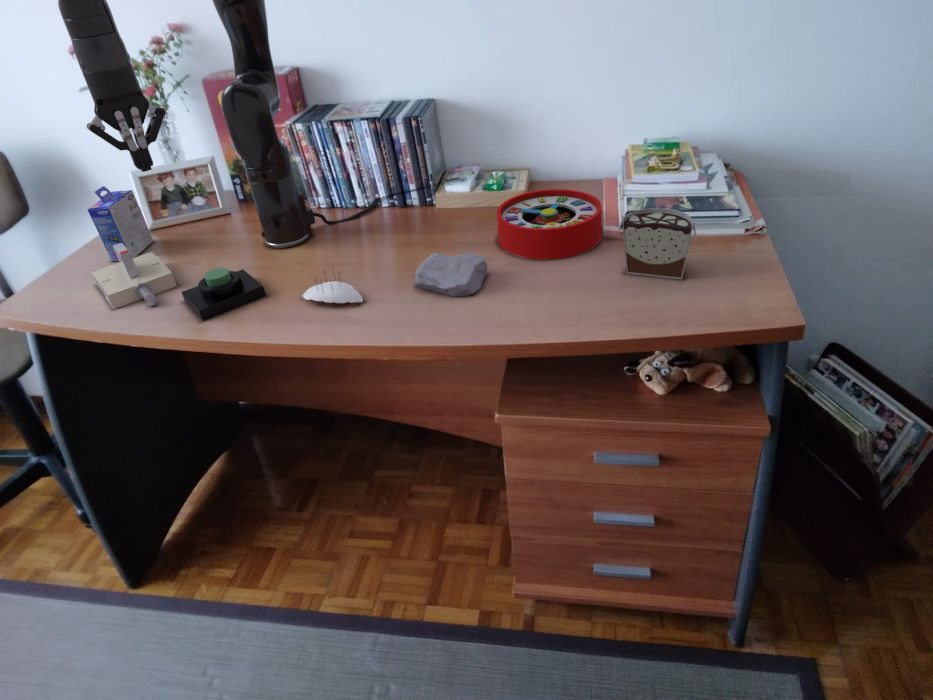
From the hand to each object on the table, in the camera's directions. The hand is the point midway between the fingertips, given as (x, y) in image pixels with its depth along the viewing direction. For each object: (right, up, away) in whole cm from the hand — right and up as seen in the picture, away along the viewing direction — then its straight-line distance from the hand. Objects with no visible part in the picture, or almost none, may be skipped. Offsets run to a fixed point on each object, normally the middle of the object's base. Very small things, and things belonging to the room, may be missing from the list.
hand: (146, 170), depth 118 cm
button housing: (+12, -22, +7) cm, 26 cm away
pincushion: (+32, -23, +2) cm, 40 cm away
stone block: (+53, -20, +3) cm, 57 cm away
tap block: (-9, -19, +15) cm, 26 cm away
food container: (+89, -17, -1) cm, 91 cm away
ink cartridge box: (-17, -10, +31) cm, 37 cm away
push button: (+11, -19, +5) cm, 23 cm away
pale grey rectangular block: (-10, -16, +14) cm, 23 cm away
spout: (-3, -22, +8) cm, 24 cm away
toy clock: (+72, -9, +15) cm, 74 cm away
